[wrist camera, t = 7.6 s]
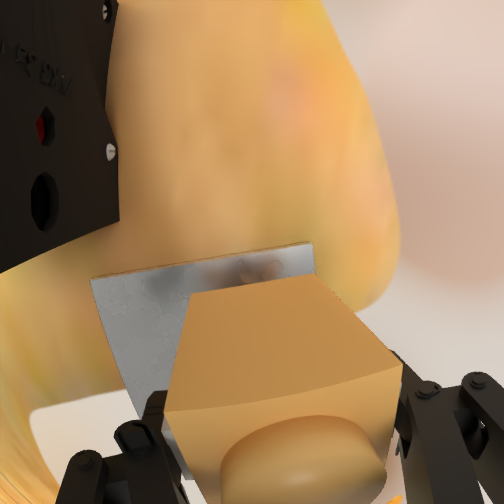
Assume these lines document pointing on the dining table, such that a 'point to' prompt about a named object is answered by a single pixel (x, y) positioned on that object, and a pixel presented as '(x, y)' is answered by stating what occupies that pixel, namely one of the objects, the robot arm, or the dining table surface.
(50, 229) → the electrical component
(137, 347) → the plate
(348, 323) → the cube with dome knob
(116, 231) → the dining table surface
